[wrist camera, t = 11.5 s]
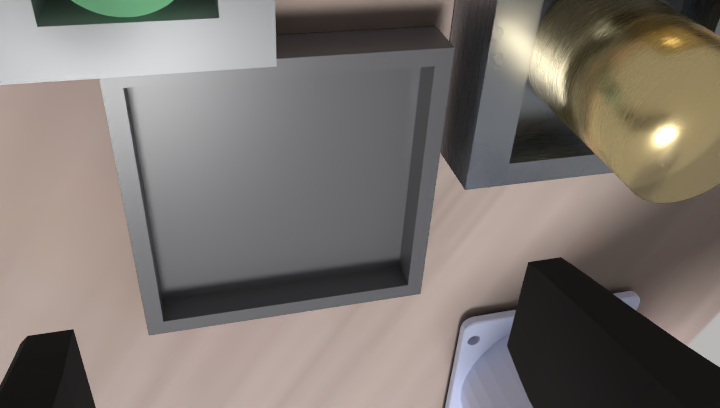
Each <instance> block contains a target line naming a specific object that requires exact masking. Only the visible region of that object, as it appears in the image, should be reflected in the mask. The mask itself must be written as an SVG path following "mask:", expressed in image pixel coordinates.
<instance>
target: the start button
mask: <svg viewBox="0 0 720 408" xmlns="http://www.w3.org/2000/svg"><path fill="white" fill-rule="evenodd" d="M71 1H73V2H74V3H76V4H78V5H80V6H81V7H83V8H85V9H88V10H90V11H93V12H95V13H99V14H103V15H107V16H113V17H137V16H142V15H146V14H150V13H152V12H155V11H158V10H160V9H161V8H163V7H165V6H167V5H168V4H170V3H171V2H172V1H174V0H71Z"/></svg>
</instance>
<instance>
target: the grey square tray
mask: <svg viewBox="0 0 720 408" xmlns="http://www.w3.org/2000/svg"><path fill="white" fill-rule="evenodd" d="M454 49H455V47H454V46H453V45H452V44H451V43H450V42H449V41H448V40H447V39H446V37H445V36H444V35H443V34H442V33H441V32H440V31H439V30H438V29H437V27H436V26H430V27H412V28H394V29H376V30H358V31H340V32H322V33H304V34H286V35H276V60H277V67H263V68H248V69H233V70H218V71H203V72H188V73H172V74H157V75H142V76H127V77H112V78H99V80H100V85H101V91H102V96H103V101H104V106H105V111H106V117H107V122H108V127H109V132H110V137H111V142H112V148H113V153H114V158H115V163H116V168H117V173H118V179H119V184H120V189H121V194H122V199H123V204H124V210H125V215H126V220H127V225H128V230H129V236H130V241H131V246H132V251H133V256H134V261H135V267H136V272H137V277H138V282H139V287H140V292H141V298H142V303H143V308H144V313H145V318H146V324H147V329H148V334H149V335H155V334H162V333H168V332H175V331H181V330H188V329H194V328H201V327H207V326H214V325H220V324H227V323H233V322H240V321H246V320H253V319H259V318H266V317H273V316H279V315H286V314H292V313H299V312H305V311H312V310H318V309H325V308H331V307H338V306H344V305H351V304H357V303H364V302H370V301H377V300H383V299H390V298H397V297H403V296H410V295H416V294H420V293H421V286H422V279H423V271H424V264H425V257H426V250H427V243H428V236H429V228H430V221H431V214H432V207H433V200H434V192H435V185H436V178H437V171H438V164H439V157H440V149H441V142H442V135H443V128H444V121H445V114H446V106H447V99H448V92H449V85H450V78H451V70H452V63H453V56H454Z"/></svg>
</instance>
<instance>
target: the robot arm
mask: <svg viewBox="0 0 720 408" xmlns="http://www.w3.org/2000/svg"><path fill="white" fill-rule="evenodd" d="M639 304H640V298H639V296H638V295H637V294H636V293H635V292H633V291H626V292H620V293H614V294H612V293H611V292H610V291H608V290H607V289H605V288H604V287H603V286H601V285H600V284H598V283H597V282H596V281H594V280H593V279H592V278H590V277H589V276H587V275H586V274H585V273H583V272H582V271H580V270H579V269H577V268H576V267H574V266H573V265H572V264H570V263H569V262H567V261H566V260H564V259H563V258H561V257H560V258H554V259H547V260H540V261H533V262H528V266H527V269H526V273H525V277H524V281H523V285H522V289H521V293H520V297H519V300H518V304H517V308H516V310H510V311H504V312H498V313H492V314H486V315H480V316H474V317H470V318H468V319H467V320H465V321H464V322H463V323H462V325H461V328H460V333H459V338H458V343H457V349H456V354H455V359H454V364H453V369H452V374H451V379H450V384H449V390H448V395H447V400H446V405H445V408H720V367H718V366H717V365H715V364H714V363H712V362H710V361H709V360H707V359H706V358H704V357H703V356H701V355H700V354H698V353H697V352H695V351H694V350H692V349H691V348H689V347H688V346H686V345H685V344H683V343H682V342H680V341H679V340H677V339H676V338H674V337H673V336H671V335H670V334H669V333H667V332H666V331H664V330H663V329H661V328H660V327H659V326H657V325H656V324H654V323H653V322H651V321H650V320H649V319H647V318H646V317H644V316H643V315H642V314H640V313H639V312H637V309H638V306H639ZM0 408H96V407H95V404H94V400H93V397H92V393H91V390H90V386H89V383H88V379H87V376H86V372H85V369H84V365H83V362H82V358H81V355H80V351H79V348H78V344H77V341H76V337H75V334H74V330H73V329H72V330H65V331H59V332H52V333H45V334H38V335H32V336H27V337H26V338H25V339H24V340H23V341H22V342H21V344H20V346H19V348H18V350H17V352H16V355H15V357H14V359H13V361H12V363H11V365H10V367H9V369H8V371H7V373H6V375H5V377H4V379H3V381H2V383H1V385H0Z"/></svg>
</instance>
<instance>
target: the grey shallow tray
mask: <svg viewBox="0 0 720 408" xmlns="http://www.w3.org/2000/svg"><path fill="white" fill-rule="evenodd" d="M558 1H559V0H455V6H454V13H453V21H452V28H451V36H450V43H451V44H452V45H453V46H454V47H455V49H454V56H453V63H452V70H451V78H450V85H449V92H448V99H447V106H446V114H445V121H444V128H443V135H442V142H441V149H440V153H441V154H442V156H443V157H444V159H445V160H446V162H447V163H448V165H449V166H450V168H451V169H452V171H453V172H454V174H455V175H456V177H457V178H458V180H459V181H460V183H461V184H462V186H463V187H464V189H465V190H468V189H476V188H485V187H493V186H502V185H510V184H519V183H527V182H536V181H544V180H553V179H562V178H570V177H579V176H587V175H596V174H604V173H613V171H612V170H611V169H610V168H609V167H608V166H607V165H606V164H605V163H604V162H603V161H602V160H601V159H600V158H599V157H598V156H597V155H596V154H595V153H594V152H593V151H592V150H591V149H590V148H589V147H588V146H587V145H586V144H585V143H584V142H583V141H582V140H581V139H580V138H579V137H578V136H577V135H576V134H575V133H574V132H573V131H572V130H571V129H570V128H569V127H568V126H567V125H566V124H565V123H564V122H563V121H562V120H561V119H560V118H559V117H558V116H557V115H556V114H555V113H554V112H553V111H552V110H551V109H550V108H549V107H548V106H547V105H546V104H545V103H544V102H543V101H542V100H541V99H540V98H539V97H538V96H537V95H536V94H535V92H534V91H533V89H532V87H531V85H530V83H529V80H528V72H529V67H530V62H531V58H532V53H533V48H534V44H535V39H536V34H537V29H538V25H539V24H540V22H541V21H542V19H543V18H544V16H545V15H546V14H547V13H548V11H549V10H550V9H551V8H552V7H553V6H554V5H555V4H556V3H557V2H558ZM660 1H661V2H663V3H665V4H666V5H668V6H670V7H672V8H673V9H675V10H677V11H678V12H680V13H682V14H683V15H685V16H687V17H688V18H690V19H692V20H694V21H695V22H697V23H699V24H700V25H702V26H704V27H705V28H707V29H709V30H711V31H712V32H714V33H716V34H717V35H719V36H720V0H660Z"/></svg>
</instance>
